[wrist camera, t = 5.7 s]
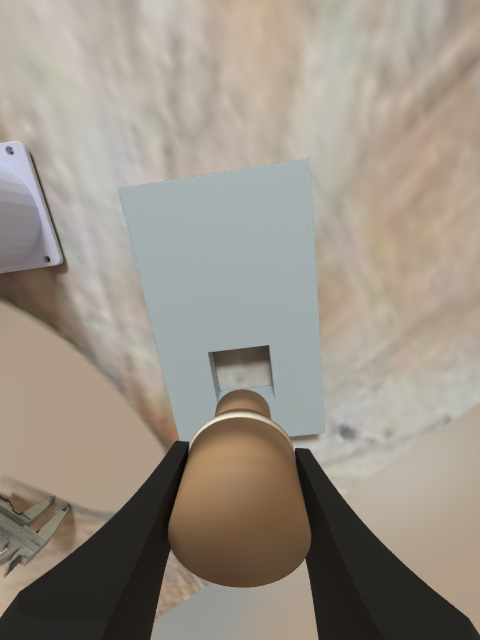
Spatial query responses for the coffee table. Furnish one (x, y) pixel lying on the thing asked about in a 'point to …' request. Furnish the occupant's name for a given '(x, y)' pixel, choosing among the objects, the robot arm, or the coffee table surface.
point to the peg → (240, 498)
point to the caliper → (25, 532)
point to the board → (232, 286)
